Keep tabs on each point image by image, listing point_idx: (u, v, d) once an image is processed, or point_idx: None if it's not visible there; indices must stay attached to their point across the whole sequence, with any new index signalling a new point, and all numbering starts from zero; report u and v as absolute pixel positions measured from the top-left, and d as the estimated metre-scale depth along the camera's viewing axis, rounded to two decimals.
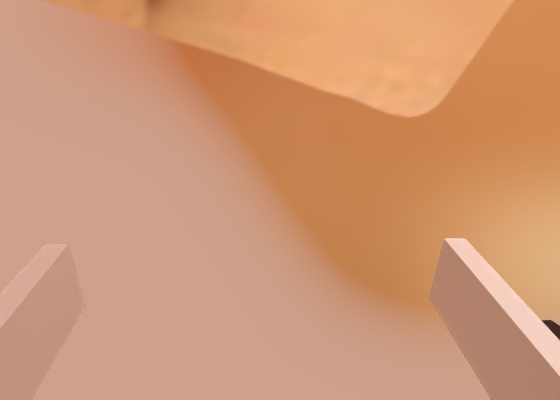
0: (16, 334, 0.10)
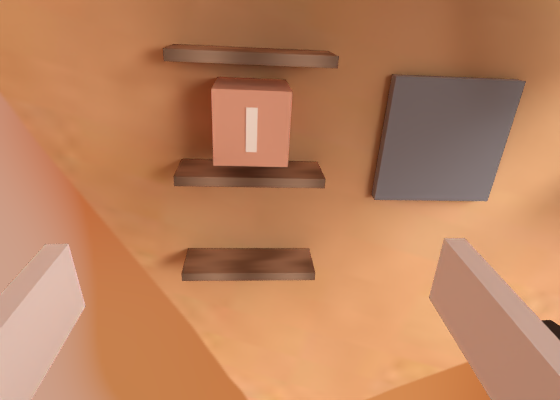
0: (16, 334, 0.10)
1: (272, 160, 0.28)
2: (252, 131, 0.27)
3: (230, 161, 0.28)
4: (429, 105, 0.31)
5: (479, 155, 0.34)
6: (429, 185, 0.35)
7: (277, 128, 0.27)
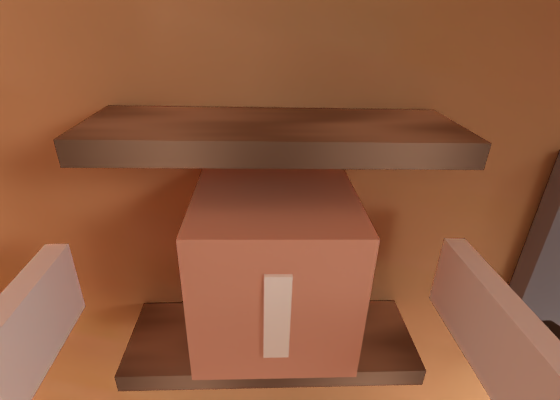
0: (16, 334, 0.10)
1: (323, 367, 0.12)
2: (279, 321, 0.11)
3: (229, 372, 0.12)
4: None
5: None
6: None
7: (337, 311, 0.11)
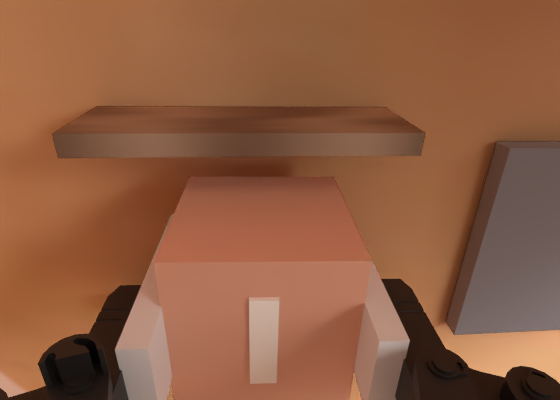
0: None
1: (313, 392, 0.12)
2: (266, 346, 0.11)
3: (214, 398, 0.12)
4: None
5: None
6: (544, 310, 0.21)
7: (328, 335, 0.11)
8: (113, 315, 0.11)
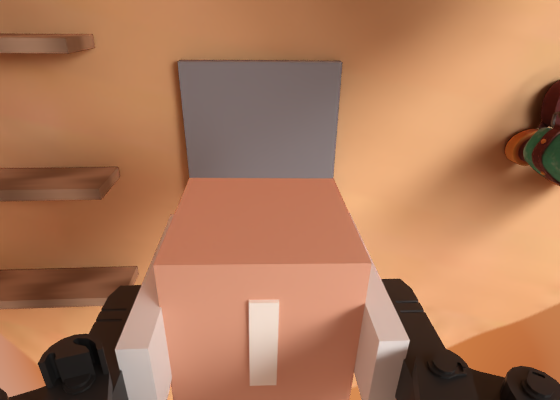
0: None
1: (313, 394, 0.12)
2: (265, 348, 0.11)
3: None
4: (228, 95, 0.26)
5: (307, 153, 0.28)
6: None
7: (328, 337, 0.11)
8: (113, 315, 0.11)
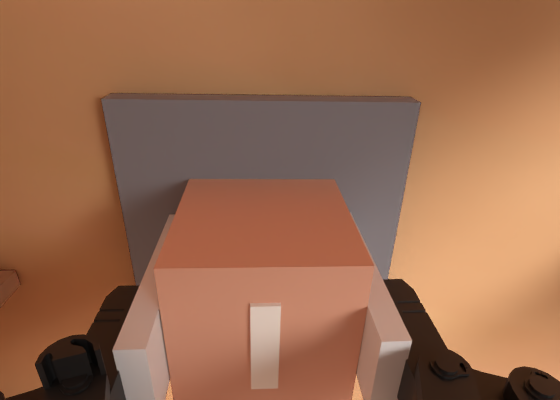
0: None
1: (315, 397, 0.12)
2: (267, 351, 0.11)
3: None
4: (203, 161, 0.14)
5: None
6: None
7: (329, 341, 0.11)
8: (111, 315, 0.11)
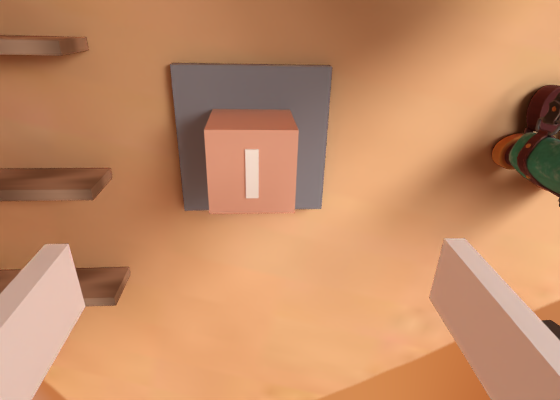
0: (16, 334, 0.10)
1: (277, 206, 0.24)
2: (253, 175, 0.23)
3: (228, 208, 0.24)
4: (220, 98, 0.26)
5: (297, 155, 0.29)
6: None
7: (281, 171, 0.23)
8: None
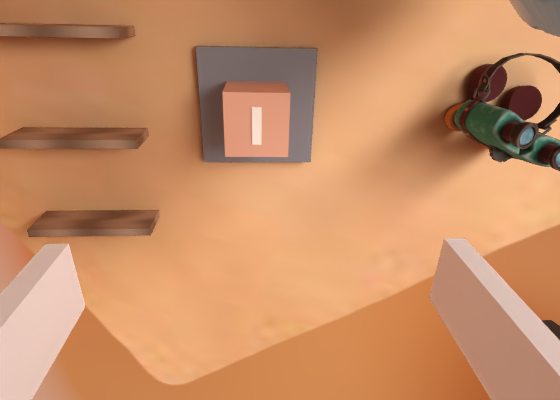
0: (16, 334, 0.10)
1: (275, 151, 0.33)
2: (257, 127, 0.32)
3: (239, 153, 0.33)
4: (233, 73, 0.35)
5: (291, 118, 0.37)
6: None
7: (278, 124, 0.32)
8: None
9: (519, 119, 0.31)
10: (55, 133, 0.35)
